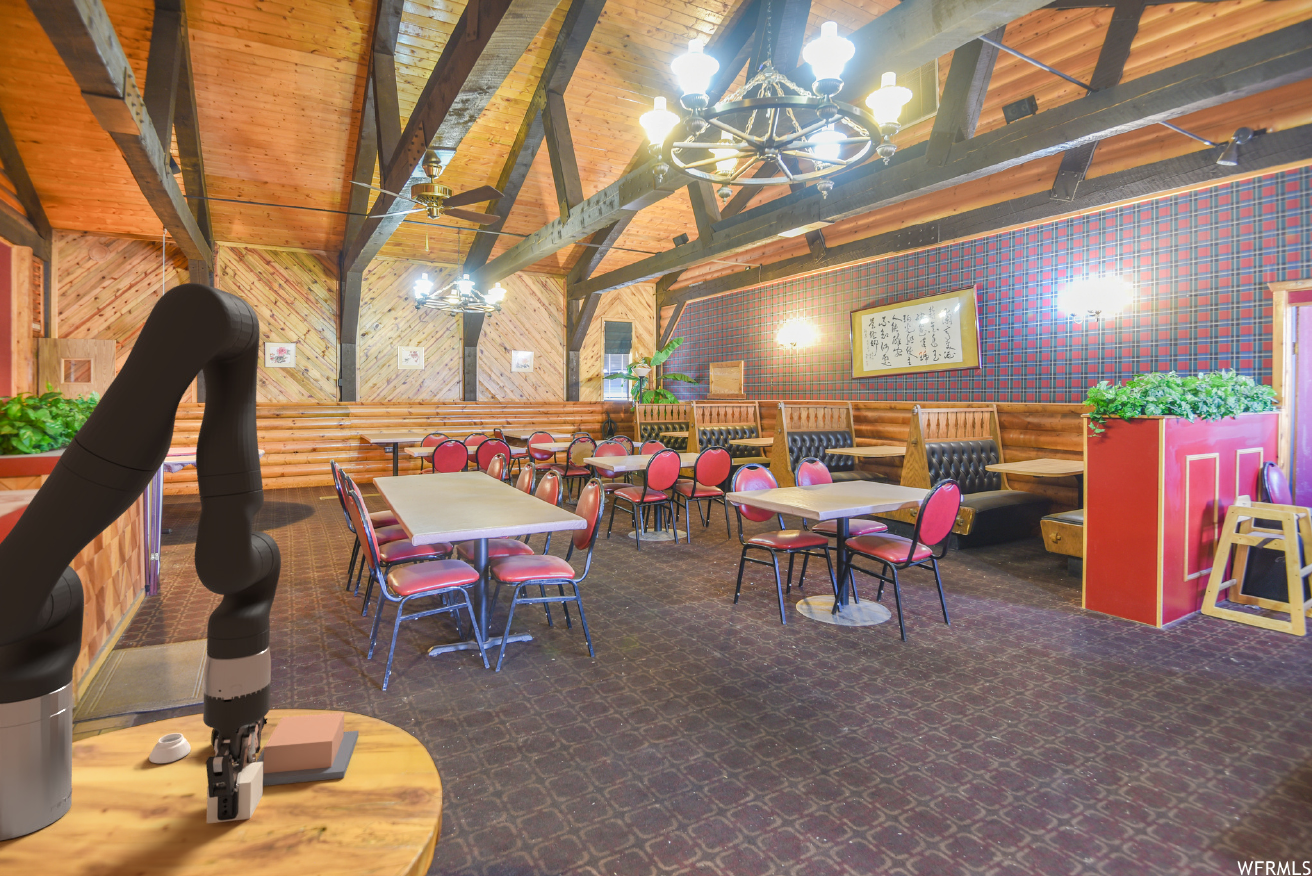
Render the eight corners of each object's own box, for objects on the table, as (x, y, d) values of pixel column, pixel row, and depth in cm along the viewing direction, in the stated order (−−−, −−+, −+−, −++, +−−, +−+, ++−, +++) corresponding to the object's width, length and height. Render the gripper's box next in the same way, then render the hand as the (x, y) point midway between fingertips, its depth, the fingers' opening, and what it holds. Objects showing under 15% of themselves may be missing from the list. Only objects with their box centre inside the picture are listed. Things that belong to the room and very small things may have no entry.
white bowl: (196, 746, 101) (160, 749, 99) (196, 728, 100) (160, 730, 99) (180, 764, 96) (142, 767, 95) (181, 745, 96) (142, 747, 94)
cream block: (206, 823, 83) (207, 786, 83) (221, 800, 88) (222, 765, 87) (250, 818, 84) (250, 782, 84) (262, 796, 89) (263, 761, 89)
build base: (244, 787, 91) (244, 753, 90) (270, 743, 102) (271, 713, 102) (343, 777, 94) (344, 745, 94) (358, 736, 106) (359, 707, 105)
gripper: (226, 662, 91) (224, 778, 92) (181, 709, 77) (179, 845, 78) (284, 659, 93) (282, 772, 94) (251, 705, 79) (248, 836, 80)
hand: (235, 804), depth 86 cm, fingers closed on cream block, 5 cm apart
